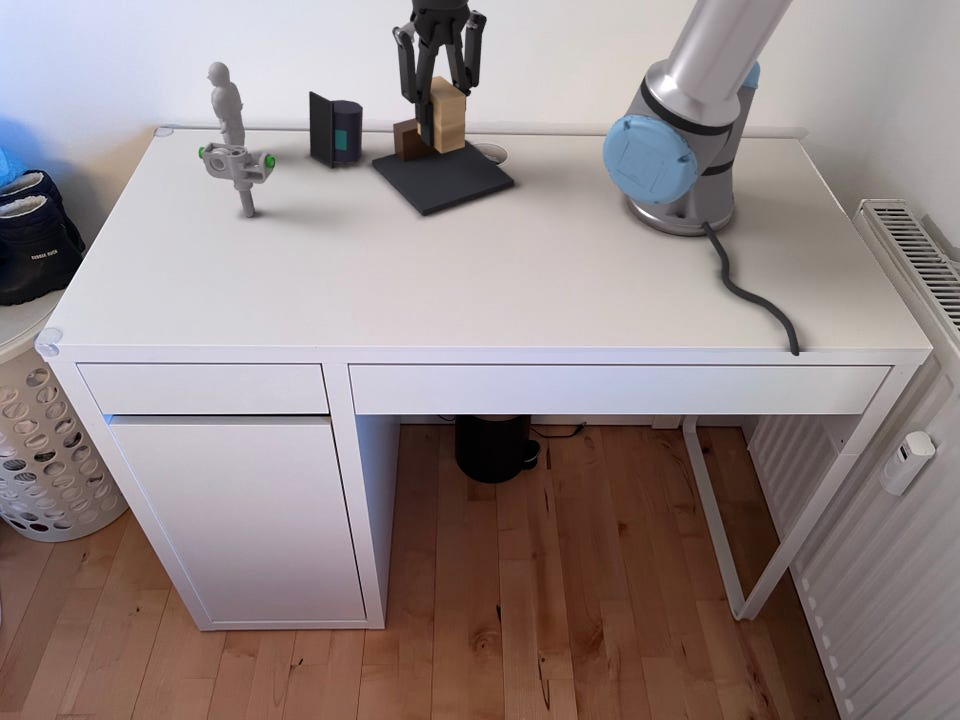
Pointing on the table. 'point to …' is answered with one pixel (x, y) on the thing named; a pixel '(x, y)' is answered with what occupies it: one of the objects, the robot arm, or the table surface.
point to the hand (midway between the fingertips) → (441, 138)
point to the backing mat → (443, 178)
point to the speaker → (335, 130)
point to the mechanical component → (237, 169)
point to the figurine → (227, 104)
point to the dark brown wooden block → (409, 141)
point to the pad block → (447, 115)
